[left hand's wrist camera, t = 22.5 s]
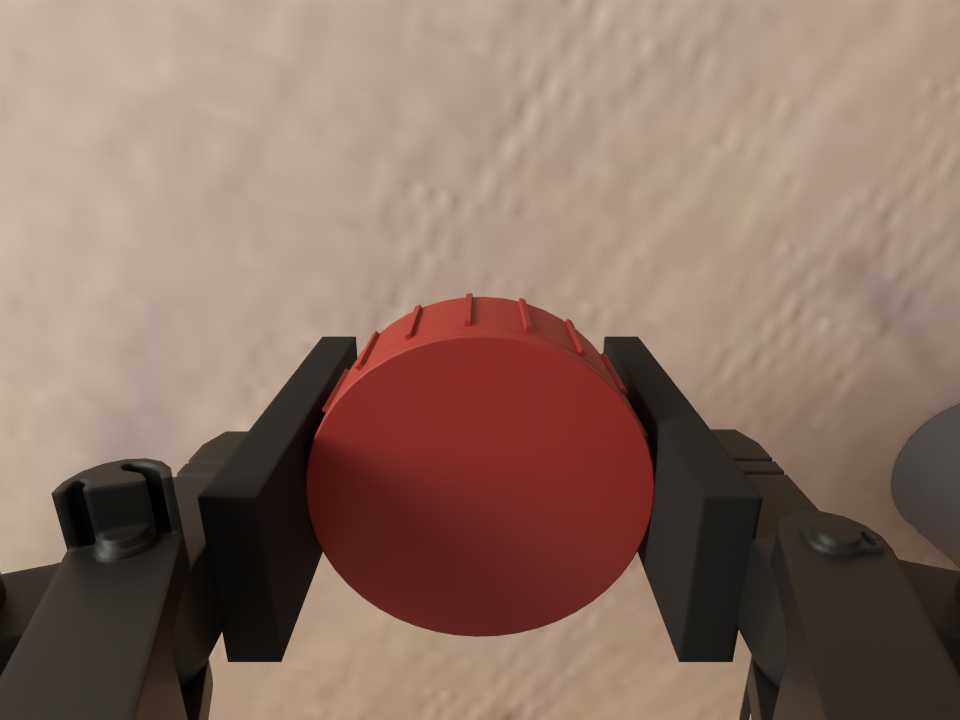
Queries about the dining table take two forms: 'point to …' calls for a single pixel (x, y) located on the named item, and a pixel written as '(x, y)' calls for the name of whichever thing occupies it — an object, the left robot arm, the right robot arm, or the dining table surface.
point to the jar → (932, 482)
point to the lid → (480, 470)
